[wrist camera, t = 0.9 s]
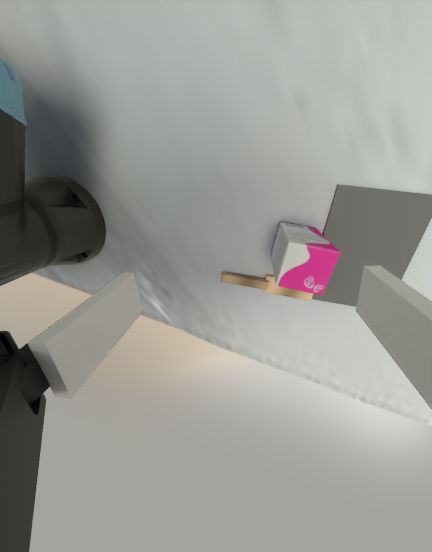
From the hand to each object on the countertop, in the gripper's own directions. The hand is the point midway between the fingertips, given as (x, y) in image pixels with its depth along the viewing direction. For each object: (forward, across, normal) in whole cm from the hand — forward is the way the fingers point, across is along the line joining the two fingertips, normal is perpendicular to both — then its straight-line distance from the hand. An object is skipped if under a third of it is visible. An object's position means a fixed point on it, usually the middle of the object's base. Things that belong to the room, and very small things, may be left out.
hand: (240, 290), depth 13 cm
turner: (+24, +4, -11) cm, 27 cm away
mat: (+24, +17, -6) cm, 30 cm away
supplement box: (+24, +7, -4) cm, 26 cm away
